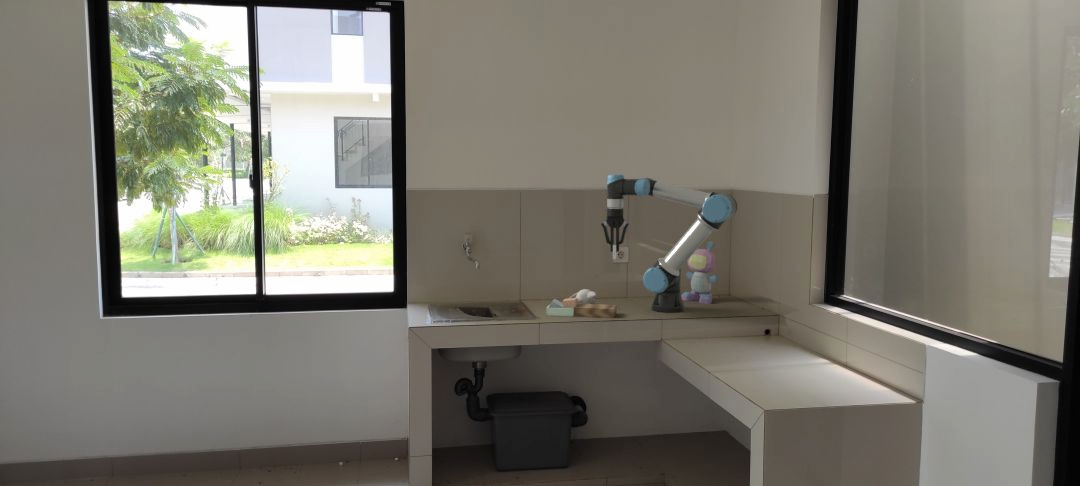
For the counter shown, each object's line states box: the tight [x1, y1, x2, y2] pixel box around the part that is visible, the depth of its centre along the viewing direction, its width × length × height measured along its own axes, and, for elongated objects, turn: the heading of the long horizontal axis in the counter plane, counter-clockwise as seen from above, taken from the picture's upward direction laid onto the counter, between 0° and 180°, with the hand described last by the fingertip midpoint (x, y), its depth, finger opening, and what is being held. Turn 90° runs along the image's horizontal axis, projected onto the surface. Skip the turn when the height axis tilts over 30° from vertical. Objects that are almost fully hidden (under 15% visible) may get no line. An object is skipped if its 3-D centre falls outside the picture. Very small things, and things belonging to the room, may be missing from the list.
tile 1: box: [548, 298, 565, 308], centre depth 360 cm, size 6×6×3 cm
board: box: [573, 303, 618, 319], centre depth 357 cm, size 18×10×4 cm, turn 76°
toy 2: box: [681, 241, 720, 305], centre depth 390 cm, size 18×11×30 cm, turn 43°
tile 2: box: [561, 297, 579, 307], centre depth 359 cm, size 6×6×3 cm
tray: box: [545, 304, 575, 318], centre depth 360 cm, size 12×13×4 cm
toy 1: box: [569, 288, 597, 304], centre depth 376 cm, size 13×9×15 cm
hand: (614, 258), depth 364 cm, fingers closed
